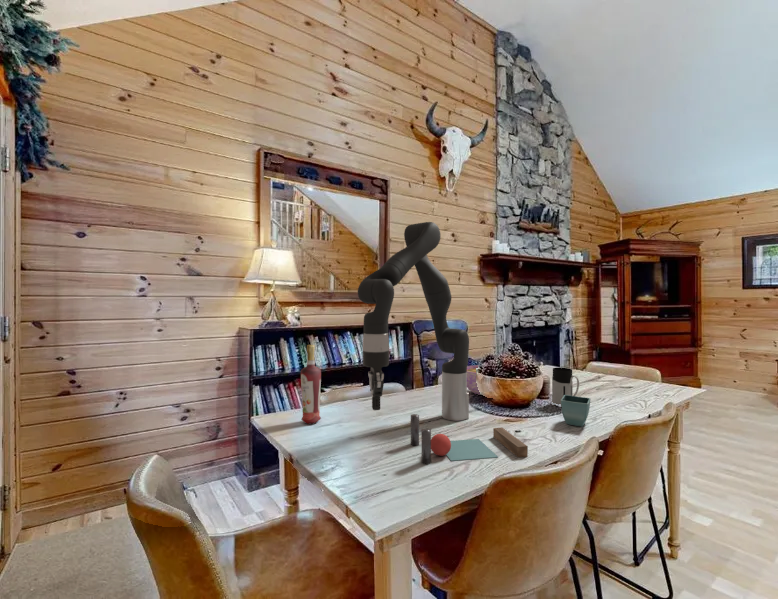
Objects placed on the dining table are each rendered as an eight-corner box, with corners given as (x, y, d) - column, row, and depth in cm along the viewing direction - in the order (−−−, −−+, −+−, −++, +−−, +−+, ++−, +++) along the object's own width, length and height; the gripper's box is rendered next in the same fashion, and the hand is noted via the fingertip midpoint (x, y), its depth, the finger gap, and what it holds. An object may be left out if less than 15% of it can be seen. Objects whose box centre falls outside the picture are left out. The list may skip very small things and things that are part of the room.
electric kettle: (564, 401, 170) (564, 366, 170) (587, 411, 156) (588, 373, 156) (546, 402, 168) (546, 367, 168) (568, 412, 154) (568, 374, 154)
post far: (417, 442, 123) (417, 414, 123) (420, 445, 121) (420, 416, 121) (409, 443, 123) (409, 414, 123) (411, 446, 120) (411, 417, 120)
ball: (440, 454, 117) (451, 437, 118) (446, 463, 111) (457, 444, 112) (423, 444, 116) (434, 427, 117) (429, 452, 110) (440, 434, 111)
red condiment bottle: (325, 421, 144) (325, 345, 143) (308, 426, 138) (308, 347, 138) (313, 417, 149) (313, 343, 148) (296, 422, 143) (296, 345, 143)
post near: (429, 460, 110) (429, 428, 110) (432, 464, 108) (432, 431, 108) (420, 460, 110) (420, 428, 110) (422, 464, 107) (422, 431, 107)
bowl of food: (453, 392, 185) (453, 368, 185) (482, 387, 196) (482, 363, 196) (486, 402, 169) (486, 375, 168) (515, 395, 180) (516, 370, 180)
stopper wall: (502, 436, 128) (502, 427, 128) (527, 456, 113) (527, 446, 113) (493, 437, 128) (493, 428, 128) (517, 457, 112) (517, 446, 112)
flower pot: (588, 429, 135) (588, 403, 135) (560, 425, 139) (560, 400, 139) (590, 422, 142) (590, 397, 142) (564, 418, 147) (564, 394, 147)
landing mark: (478, 439, 126) (478, 438, 126) (498, 457, 112) (498, 456, 112) (436, 442, 124) (436, 441, 124) (451, 461, 110) (451, 460, 110)
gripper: (393, 352, 107) (393, 415, 107) (385, 345, 120) (385, 402, 120) (365, 352, 106) (365, 417, 106) (360, 346, 119) (360, 403, 119)
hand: (376, 409), depth 113 cm, fingers closed
